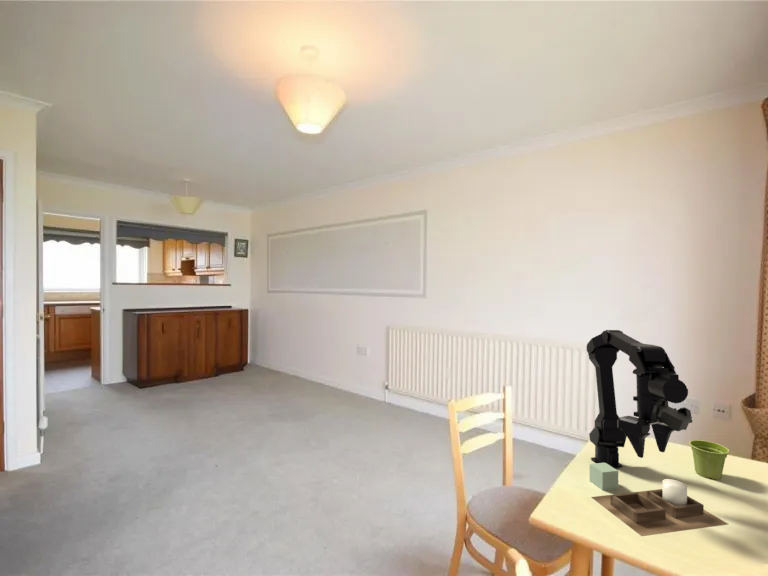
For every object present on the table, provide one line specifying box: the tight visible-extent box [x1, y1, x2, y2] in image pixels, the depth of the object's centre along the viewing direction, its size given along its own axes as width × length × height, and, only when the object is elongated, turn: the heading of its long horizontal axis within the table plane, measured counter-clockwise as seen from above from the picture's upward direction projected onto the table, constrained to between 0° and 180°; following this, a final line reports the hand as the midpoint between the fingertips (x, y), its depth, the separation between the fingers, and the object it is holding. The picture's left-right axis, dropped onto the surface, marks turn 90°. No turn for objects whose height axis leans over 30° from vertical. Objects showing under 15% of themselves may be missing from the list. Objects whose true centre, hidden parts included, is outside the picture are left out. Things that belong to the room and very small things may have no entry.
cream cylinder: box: [661, 478, 688, 506], centre depth 99 cm, size 5×5×6 cm
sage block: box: [589, 462, 619, 491], centre depth 110 cm, size 5×5×6 cm
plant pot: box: [688, 439, 731, 480], centre depth 117 cm, size 9×9×9 cm
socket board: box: [591, 488, 729, 537], centre depth 98 cm, size 16×24×4 cm, turn 101°
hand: (651, 454), depth 101 cm, fingers open, 9 cm apart
